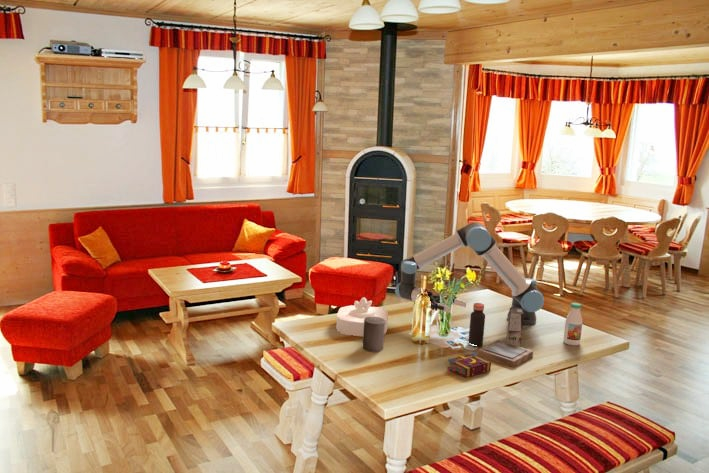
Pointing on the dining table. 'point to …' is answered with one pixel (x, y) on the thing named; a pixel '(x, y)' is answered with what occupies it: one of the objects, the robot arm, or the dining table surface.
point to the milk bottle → (573, 325)
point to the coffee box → (515, 326)
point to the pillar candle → (373, 334)
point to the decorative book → (469, 365)
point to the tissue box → (358, 317)
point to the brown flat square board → (505, 353)
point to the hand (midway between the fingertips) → (458, 307)
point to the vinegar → (477, 325)
